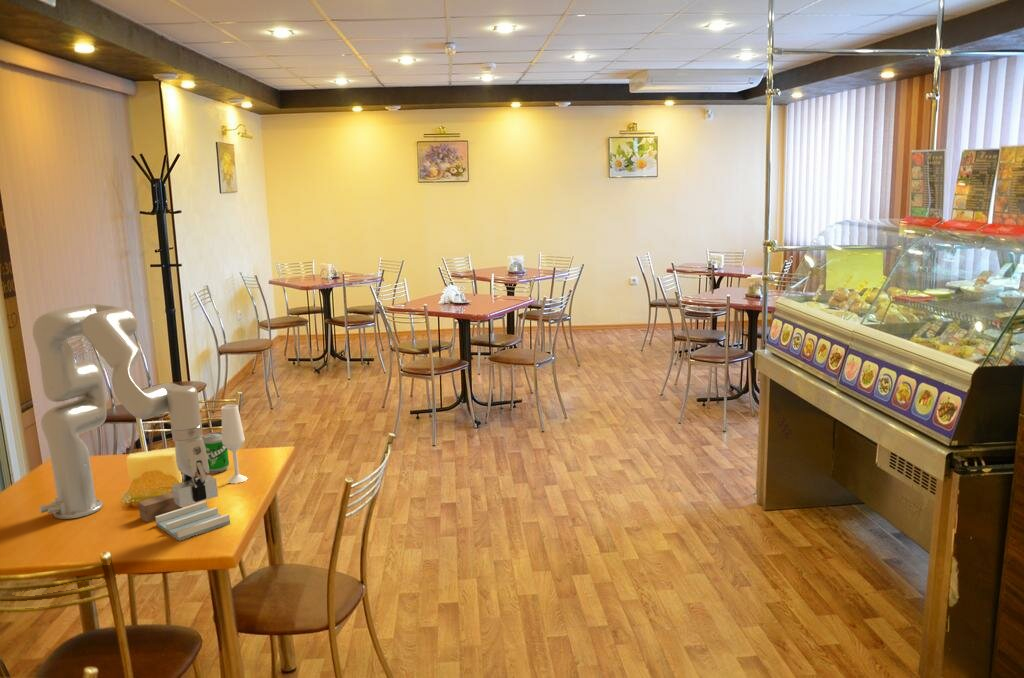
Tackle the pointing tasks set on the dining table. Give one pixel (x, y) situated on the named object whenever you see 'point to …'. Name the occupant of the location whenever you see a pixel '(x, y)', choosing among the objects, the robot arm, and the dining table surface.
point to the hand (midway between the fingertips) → (195, 497)
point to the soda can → (216, 452)
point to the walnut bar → (157, 506)
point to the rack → (191, 520)
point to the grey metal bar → (185, 491)
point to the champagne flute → (233, 436)
